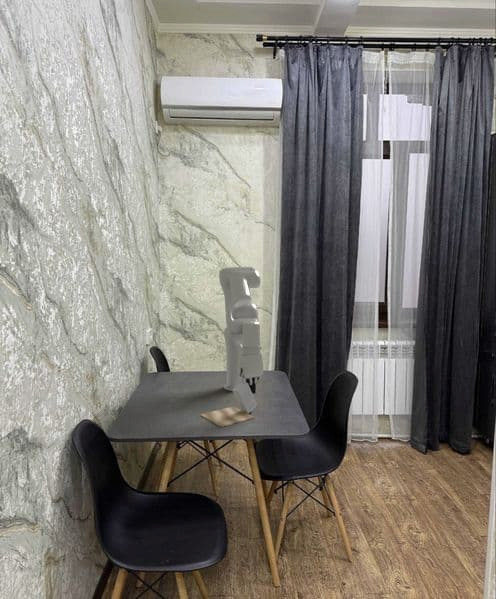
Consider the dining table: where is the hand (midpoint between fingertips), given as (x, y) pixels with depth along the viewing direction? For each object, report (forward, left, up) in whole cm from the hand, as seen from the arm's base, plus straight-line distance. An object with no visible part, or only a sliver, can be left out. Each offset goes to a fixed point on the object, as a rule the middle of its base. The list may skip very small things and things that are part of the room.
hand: (251, 393), depth 190 cm
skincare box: (+1, 0, -7) cm, 7 cm away
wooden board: (+12, 0, -8) cm, 15 cm away
